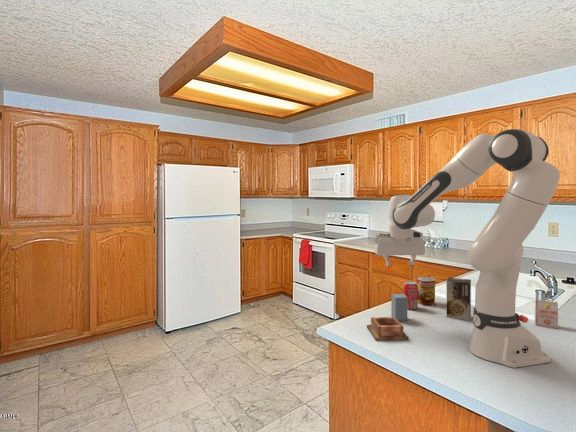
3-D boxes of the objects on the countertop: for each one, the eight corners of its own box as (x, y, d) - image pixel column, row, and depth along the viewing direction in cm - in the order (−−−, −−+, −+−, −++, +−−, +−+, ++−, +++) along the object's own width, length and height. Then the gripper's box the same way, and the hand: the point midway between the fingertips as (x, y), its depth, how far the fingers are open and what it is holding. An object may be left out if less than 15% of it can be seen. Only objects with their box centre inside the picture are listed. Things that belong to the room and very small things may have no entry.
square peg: (402, 316, 139) (403, 293, 139) (407, 321, 134) (407, 297, 134) (391, 316, 139) (391, 294, 139) (395, 321, 134) (395, 297, 134)
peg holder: (396, 326, 129) (396, 315, 128) (408, 339, 117) (408, 327, 116) (366, 327, 129) (366, 316, 128) (375, 340, 117) (375, 328, 116)
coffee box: (471, 316, 138) (471, 279, 138) (470, 321, 133) (470, 282, 132) (447, 312, 143) (448, 276, 142) (445, 317, 138) (446, 280, 137)
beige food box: (534, 322, 131) (535, 298, 131) (555, 325, 128) (556, 301, 127) (535, 325, 128) (536, 300, 127) (557, 329, 124) (558, 303, 124)
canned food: (419, 305, 153) (419, 280, 152) (415, 300, 161) (415, 276, 160) (436, 306, 152) (437, 281, 151) (432, 301, 159) (432, 277, 159)
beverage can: (405, 304, 154) (406, 280, 154) (419, 307, 150) (419, 282, 150) (401, 308, 150) (401, 282, 149) (415, 311, 146) (415, 285, 145)
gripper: (377, 234, 131) (377, 267, 132) (426, 233, 132) (426, 266, 132) (372, 232, 138) (372, 264, 138) (420, 231, 138) (419, 263, 139)
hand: (399, 265), depth 135 cm, fingers open, 8 cm apart
